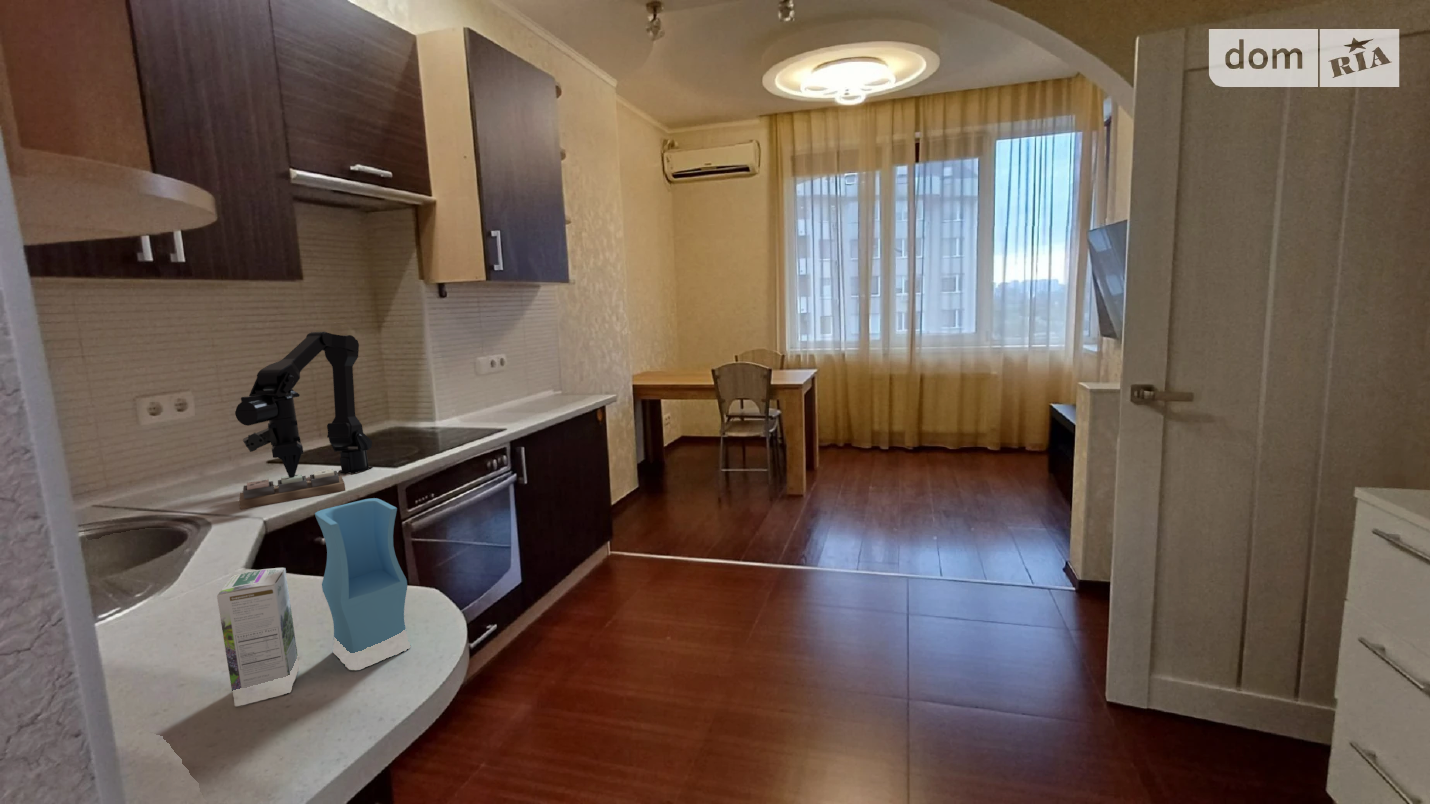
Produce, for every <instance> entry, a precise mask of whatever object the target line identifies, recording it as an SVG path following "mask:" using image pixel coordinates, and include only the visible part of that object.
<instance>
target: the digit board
mask: <svg viewBox="0 0 1430 804" xmlns="http://www.w3.org/2000/svg"><path fill="white" fill-rule="evenodd" d="M333 471H334V474H335V475H334V476H328V477H322V478H316V479H314V473H313V474H309V477H310V478H309V479H310V480H309V481H307V477H306V475H302V479H303V481H298V482H292V483H286V484H282V482H281V479H277V486H274V480H272V481H270V480H269V485H270V486H268V487H262V488H256V489H250V490H247V484H246V485H243V488H242V489H243V490H242V492H240V493H239V499H238V504H239V509H240V510H245V509H250V508H256V507H261V506H266V505H272V504H277V503H284V502H288V501H294V500H300V499H305V498H310V497H317V496H321V495H326V494H333V493H337V492H343V491H346V483H345V481H344V479H343V477H342V475H339V474H338V473H339V472H337V471H338V470H333Z"/></svg>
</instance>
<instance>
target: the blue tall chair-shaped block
mask: <svg viewBox="0 0 1430 804" xmlns="http://www.w3.org/2000/svg"><path fill="white" fill-rule="evenodd" d="M397 511H398V508H397V507H396V506H394V505H392V504H390V503H389V502H386V501H385V500H382V499H380V498H377V497H376V498H375V497H373V498H365V499H361V500H357V501H353V502H352V501H351V502H349V503H345V504H340V505H335V506H331V507H327V508H323V509H321V510H318V511H316V512H314V515H315V518H316V521H317V524H318V525H319V527H320V530H321V532H322V535H323V538H324V541H325V545H326V552H327V553H326V564H325V570H324V575H323V577H322V582H321V589H322V593H323V595H324V597H325V600H326V603H327V604H328V607H329V610H330V613H331V617H332V621H333V622H332V623H333V638H334V637H335V638H336V639H337V641H339V642H340V644H342V645H343V647H345V648H346V650H347V651H349V652H350V653H355V652H358V651H362V650H364V649H366V648H367V647H371V646H373V645H375V644H378V643H381V642H382V641H385V640H387V639H389V638H391V637H393V636H395V635H397V634H399V633H401V632H402V631H403V630H405V629H406V630H407V628H406V622H405V605H406V604H405V603H406V597H407V590H408V580H407V578H406V576H405V574H404V572H403V570H402V568H401V566H400V564H399V561H398V558H397V556H396V552H395V547H394V528H395V521H396V516H397Z"/></svg>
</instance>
